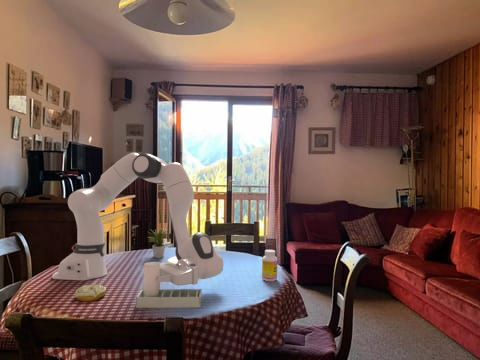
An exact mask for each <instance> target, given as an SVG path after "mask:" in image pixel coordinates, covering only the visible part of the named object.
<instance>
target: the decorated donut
mask: <svg viewBox="0 0 480 360" xmlns="http://www.w3.org/2000/svg"><path fill="white" fill-rule="evenodd" d="M106 292H107V288H106V287H105V286H104V285H101V284H86V285H83V286H80V287H78V288H77V289H76V290H75V292H74V297H75V299H78V300H79V301H80V302H86V303H88V302H93V300H94V301H97V299H98V300H100V299H102V298H103V297H104V296H105V295H106ZM101 297H102V298H101ZM99 298H100V299H99ZM87 301H88V302H87Z"/></svg>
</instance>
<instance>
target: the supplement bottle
mask: <svg viewBox="0 0 480 360" xmlns="http://www.w3.org/2000/svg"><path fill="white" fill-rule="evenodd" d="M261 261H262V270H261V278H262V279H261V280H262V281H264V280H265V281H264V282H276V281H277V279H278V257H277V256H276V250H274V249H265V250H264V255H263V257H262V258H261ZM275 280H276V281H275Z"/></svg>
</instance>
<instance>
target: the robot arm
mask: <svg viewBox="0 0 480 360" xmlns="http://www.w3.org/2000/svg"><path fill="white" fill-rule="evenodd" d="M138 178H140V179H143V180H145V181H147V182H150V183H154V184H158V185H163V187H164V190H165V193H166V197H167V201H168V205H169V207H168V208H169V217H170V222H171V223H170V224H171V228H172V232H173V236H174V240H175V241H174V243H175V256H176V257H177V259H178V262H177V263H176V264H173V263H167V262H159V263H160V276H157V281H158V282H160V283H172V284H174V285H175V286H187V285H193V286H194V285H195V286H196V285H197V284H198V283H199V280H207V279H211V278H214V277H217V276H218V275H220V273H222V272H223V269H224V258H223V257H222V255H220V253H218V251H216V249H215V248H214V245H213V242H212V241H213V240H212V239H211V237H210V236H209V234H207V233H205V232H201V231H197V232H195V233H194V234H192V235H191V236H190V232H189V227H188V224H187V223H188V222H187V217H188V216H187V215H188V213H189V211H190V208H191V207H192V204H193V203H194V199H195V192H194V187H193V186H192V182H191V179H190V178H189V176H188V173H187V171H186V169H185V168H184V166H183V165H182V164H181V163H179V162H170V163H168V161H165V160H163V159H162V158H160V157H157V156H155V155H152V154H150V153H137V152H130V153H128V154H125V156H122V158H120V159H119V160H117V161H116V162H115V163H114V164H112V165H111V167H108V169H107V170H105V171H104V173H102V174H101V175H100V178H99V180H98V182H97V183H96V184H95V185H93V186H91V187H89V188H88V187H87V188H80V189H78V190H75V191H73V192H72V193H71V194H70V195H69V196H68V198H67V199H68V200H67V205H68V208H69V210H70V211H71V212H72V213H73V215H74V218H75V223H76V229H77V238H76V239H77V243H74V245H72V246H71V250H72V251H73V252H71V253H70V254H69V255H68V256H66V257H65V258H63V259H62V261H60V263H59V265H58V269H57V270H56V272H54V273H53V274H52V277H51V278H52V279H53V280H67V281H68V280H69V281H89V280H92V279H97V278H102V277H104V276H106V275H108V270H107V266H106V261H105V260H106V259H105V254H106V243H105V226H104V224H103V222H102V221H101V217H100V212H102V211H104V210H107V208H108V207H110V206H111V205H112V203H113V201H114V200H115V199H116V197H118V195H119V194H120V193H122V191H124V190H125V189H126V188H127V187H128V186H129V185H131V184H132V183H133V182H134V181H135V180H137V179H138Z"/></svg>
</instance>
